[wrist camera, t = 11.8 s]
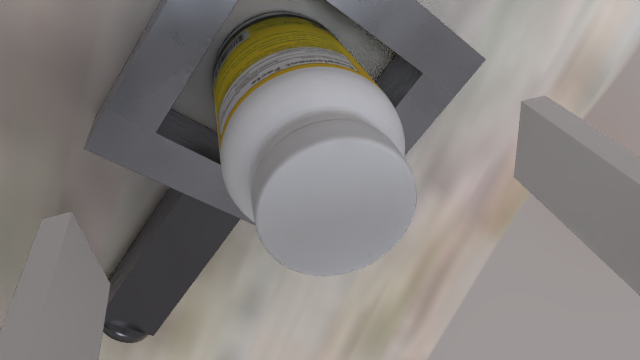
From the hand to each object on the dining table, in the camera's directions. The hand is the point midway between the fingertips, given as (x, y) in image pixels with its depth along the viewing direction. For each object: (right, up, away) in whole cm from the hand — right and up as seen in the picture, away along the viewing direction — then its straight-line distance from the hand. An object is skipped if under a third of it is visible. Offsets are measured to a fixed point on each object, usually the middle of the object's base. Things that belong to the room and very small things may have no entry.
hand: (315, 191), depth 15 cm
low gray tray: (-5, +2, +10) cm, 11 cm away
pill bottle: (-2, +5, +9) cm, 10 cm away
